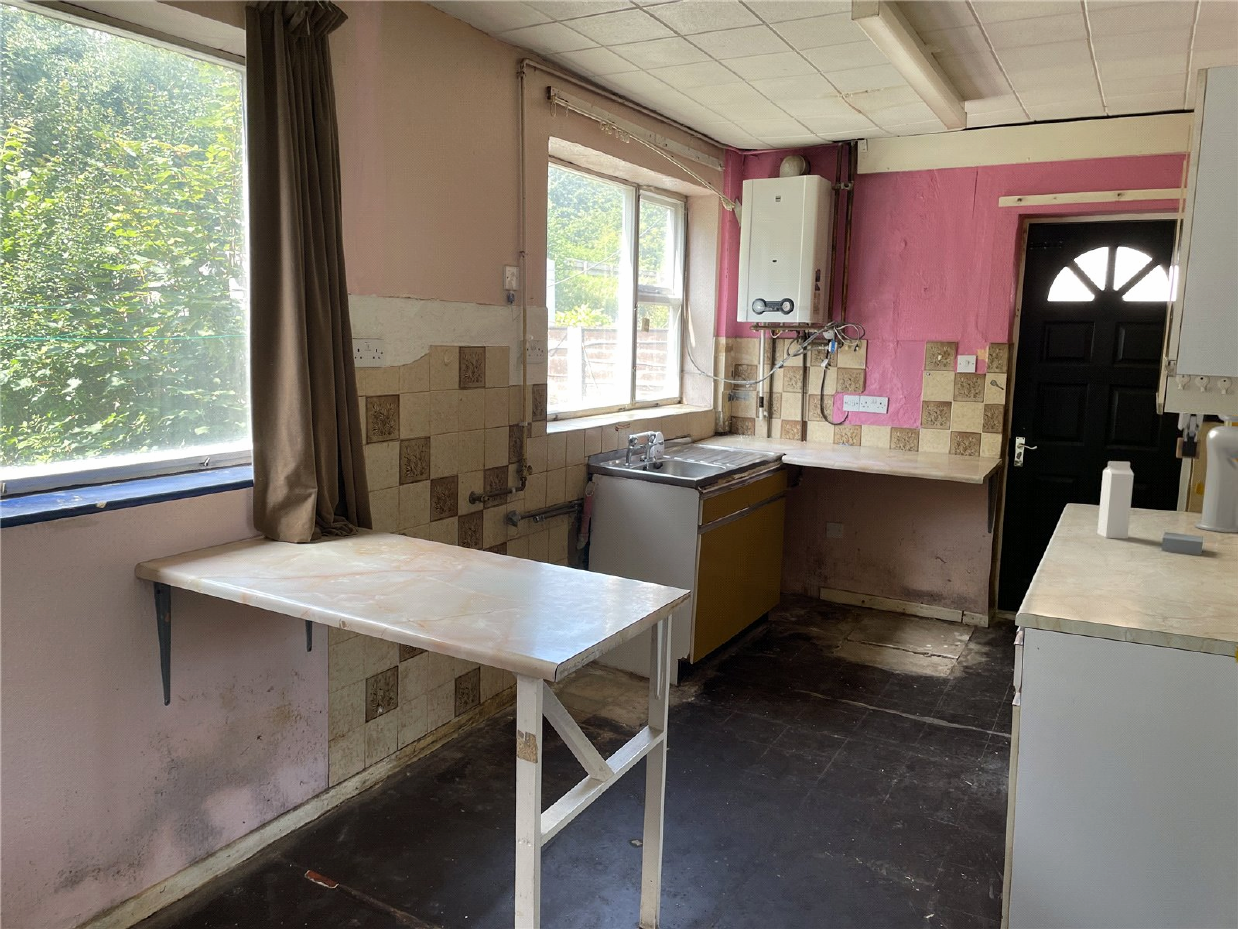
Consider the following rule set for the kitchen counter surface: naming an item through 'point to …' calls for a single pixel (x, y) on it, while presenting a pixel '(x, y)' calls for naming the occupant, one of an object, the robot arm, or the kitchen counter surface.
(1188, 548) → the grey slab
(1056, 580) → the kitchen counter surface
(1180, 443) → the walnut cube
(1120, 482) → the milk
